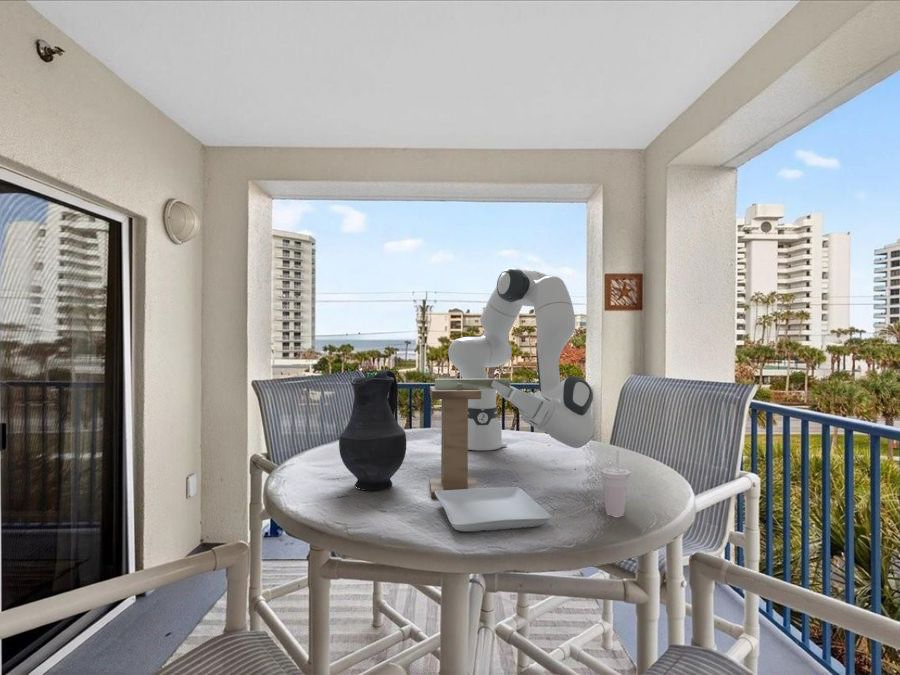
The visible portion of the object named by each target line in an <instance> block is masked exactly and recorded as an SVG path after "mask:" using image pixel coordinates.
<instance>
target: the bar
mask: <svg viewBox="0 0 900 675" xmlns="http://www.w3.org/2000/svg"><path fill="white" fill-rule="evenodd" d="M493 380H495V381H497V382H499V383H500V384H502V385H505V386H507V387H508V388H509V387H510V386H511V383H510V382H511V381H510V378H489V379H462V378H434V386H435V389H457V384H458V383H461V384H462V389H495V388H493V387H491V383H492V381H493Z"/></svg>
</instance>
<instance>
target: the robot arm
mask: <svg viewBox="0 0 900 675" xmlns="http://www.w3.org/2000/svg"><path fill="white" fill-rule="evenodd" d="M523 306H525V307H533V310H534V311H533V312H534V316H535V323H536V324H535V325H536V350H535V351H536V352H535V353H536V365H537V366H536V368H537V377H538V378H537V379H538V390H536V391H535V392H533V391H528V392H525V391H523V390H521V389H519V388H516V387H515V386H512V385H510V387H509V388H508V387H507V386H505V385H502V384H500V383H499V382H497V381H495V380H493V381H492V383H491V387H493V388H495V389H479V390H481V399H468V450H470V451H493V450H498V449H501V448H505V447H507V442H504V441H503V435H502V434H503V433H502V432H503V431H502V423H501V422H500V421H499V419H498V418H497V417H498V407H497V395H498V396H499V397H501V398H503V399H505V400H506V401H508V402H509V403H510V404H512V405H513V406H515V407H516V408H517V409H518V413H519V414H520V415H521V420H522V422H524V423H526V424H528V425H530V426H532V427H534V428H535V429H537V430H539V431H542V432H545V433H547V435H549V436H550V437H551V438H553V439H554V440H556V441H557V442H560V443H562V444H564V445H566V446H567V447H570V448H573V449H579V448H580V449H581V448H582V447H584V446H586V445H587V444H588V443H589V442H590V441H591V440H592V439H593V437H594V435H595V433H596V432H595V431H596V424H595V423H594V421H593V418H592V402H593V401H594V393H593V390H592V387H591V385H590V384H589V383H588V381H587V380H585V379H584V378H583V377H579V376H576V375H571V376H568V377H566V378H564V379H563V380H561V375H560V364H559V363H560V358H561V355H562V352H563V350H564V348H565V346H566V345H567V343H568V342H569V340H570V339H571V338H572V336H573V334H574V332H575V329H576V315H575V314H576V313H575V310H574V306H573V301H572V298H571V296H570V293H569V289H568V287H567V286H566V284H565V281H564V280H563V279H562V278H561V277H558V276H555V275H549V274H545V273H543V272H539V271H535V270H528V269H520V268H518V267H509V268H505V269H504V270H503V271H502V272H501V273H500V274H499V275H498V278H497V281H496V287H495V288H494V290H493V292H492V293H491V296H489V298H488V301H487V303H486V305H485V307H484V309H483V311H482V313H481V315H480V325H481V327H482V328H483V330H484V332H483V333H482V335H481V336H463V337H459V338H456V339H454V340H452V342H451V343H450V345H449V347H448V350H447V354H448V358H449V362H450V363H451V364H452V365H453V366H454V367H455V368H456V369H457V371H459V374H460V377H461V379H490V378H489V377H488V375H487V372H486V368H496V367H497V368H498V367H500V366H504V365H506V364H508V362H510V360H511V358H512V354H513V351H512V350H513V349H512V345H511V344H510V342H509V337H510V336H509V335H510V332H511V330H512V327H513V326H514V324H515V322H516V320H517V318H518V316H519V314H520V311H521V309H522V308H523Z"/></svg>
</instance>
